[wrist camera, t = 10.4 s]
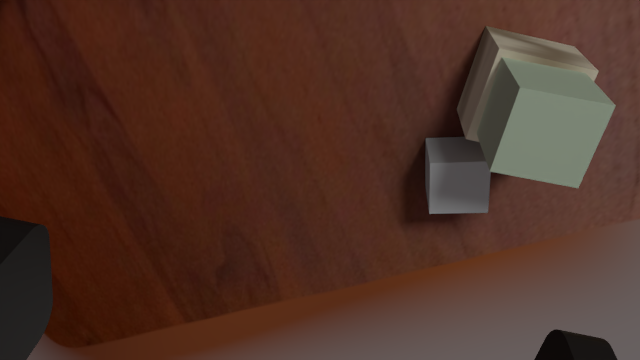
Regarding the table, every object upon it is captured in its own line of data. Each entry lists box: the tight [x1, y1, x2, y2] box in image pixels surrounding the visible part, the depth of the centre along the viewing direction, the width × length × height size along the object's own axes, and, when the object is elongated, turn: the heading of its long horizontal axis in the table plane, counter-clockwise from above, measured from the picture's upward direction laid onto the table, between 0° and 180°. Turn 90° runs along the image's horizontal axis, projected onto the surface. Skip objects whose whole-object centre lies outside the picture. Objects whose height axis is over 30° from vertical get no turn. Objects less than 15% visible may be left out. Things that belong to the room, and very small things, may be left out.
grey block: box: [425, 137, 491, 214], centre depth 42 cm, size 4×4×4 cm
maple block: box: [457, 26, 599, 142], centre depth 38 cm, size 6×6×5 cm
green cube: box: [477, 57, 616, 188], centre depth 34 cm, size 5×5×5 cm
